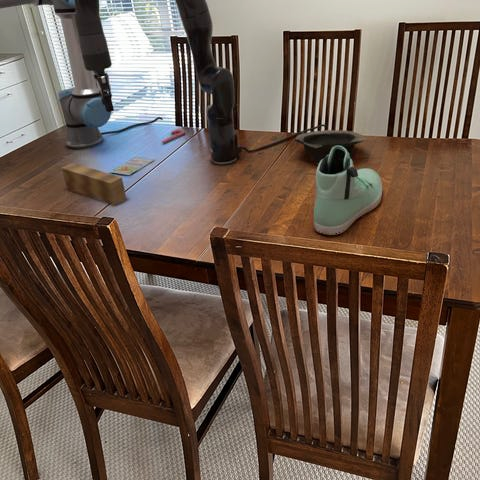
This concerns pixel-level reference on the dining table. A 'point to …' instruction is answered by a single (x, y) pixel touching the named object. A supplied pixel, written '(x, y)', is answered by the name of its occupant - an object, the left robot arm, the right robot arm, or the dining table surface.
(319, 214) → the sneaker
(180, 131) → the candy cane
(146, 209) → the dining table surface
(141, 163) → the baking ingredient package
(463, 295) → the dining table surface
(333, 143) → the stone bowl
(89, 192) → the bar
